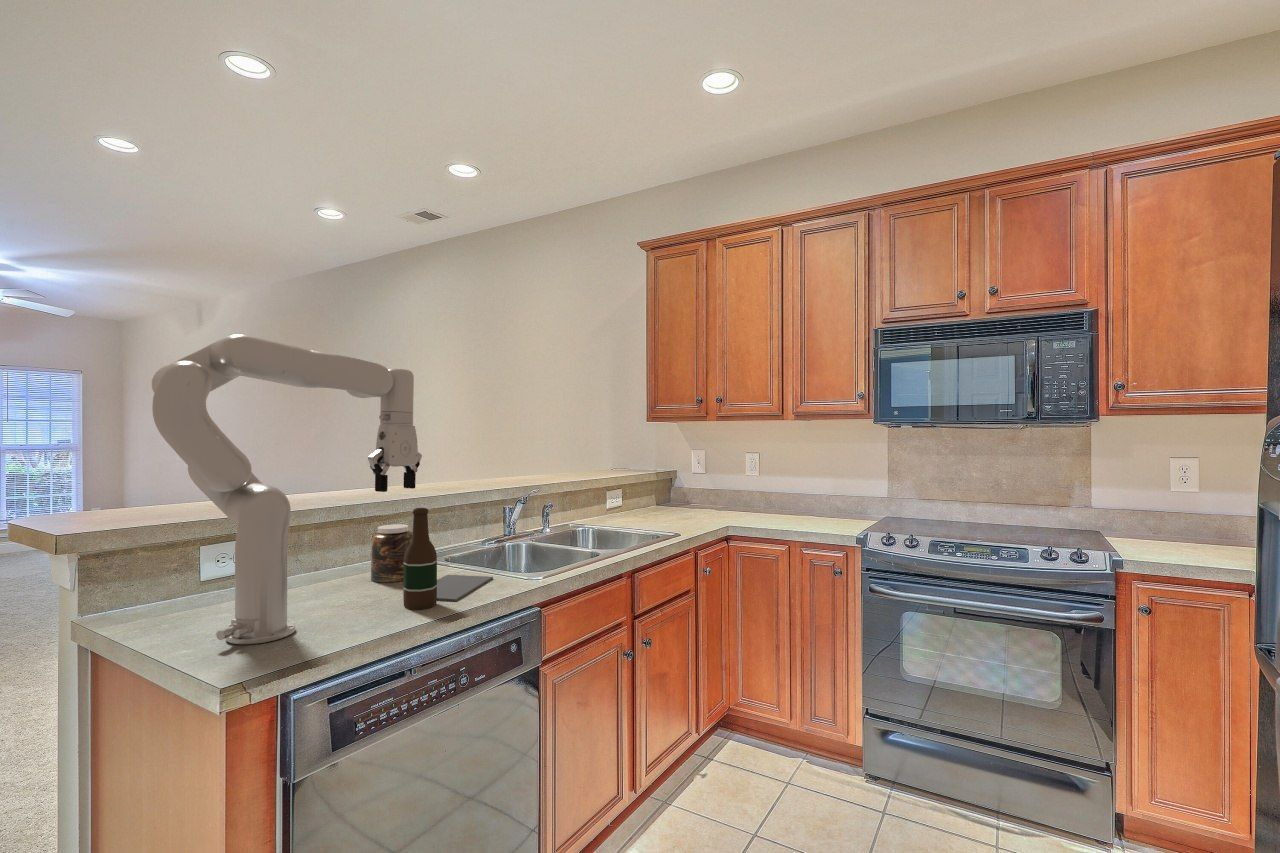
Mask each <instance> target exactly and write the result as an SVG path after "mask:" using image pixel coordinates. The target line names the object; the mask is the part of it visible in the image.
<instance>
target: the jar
mask: <svg viewBox="0 0 1280 853" xmlns="http://www.w3.org/2000/svg"><path fill="white" fill-rule="evenodd" d="M412 533H413V531H410V530H409V525H408V524H400V523H399V524H398V523H394V524H384V525H379V526H378V527H377V532H376V533H373V534H372V536H371V543H370V551H371V552H370V580H371V581H372V582H375V583H381V584H382V583H386V584H387V583H397V582H404V554H405V551H406V549H407V547H408V546H409V544H410V543H411V540H412Z"/></svg>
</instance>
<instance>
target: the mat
mask: <svg viewBox="0 0 1280 853" xmlns="http://www.w3.org/2000/svg"><path fill="white" fill-rule="evenodd" d="M493 579H494V577H493V576H489V575H488V576H484V575H482V576H481V575H465V574H464V575H459V574H446V575H444V576H442V577H440V578H437V601H438V602H439V601H440V602H442V601H443V602H457V601H460V600H461V599H462V598H464V597H465V596H467V595H469V594H471V593H472V592H473V591H476V590H477V589H479V588H480V587H482V586H483V585H485V584H487V583H489V582H490V581H491V580H493ZM437 601H436V602H437Z"/></svg>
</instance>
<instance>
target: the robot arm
mask: <svg viewBox="0 0 1280 853" xmlns="http://www.w3.org/2000/svg"><path fill="white" fill-rule="evenodd" d="M239 377H246V378H251V379H257V380H262V381H268V382H271V383H272V382H273V383H277V384H283V385H288V386H293V387H296V388H305V389H307V388H309V389H315V388H316V389H319V388H320V389H333V390H334V389H335V390H342V391H346V392H347V393H348V394H349V395H350V396H352V397H355V398H359V399H367V398H380V405H379V406H380V407H379V408H380V410H379V411H380V413H379V414H380V415H379V416H378V417H379V418H378V419H379V425H378V429H377V433H376V434H377V435H376V442H375V443H376V444H375V451H374V452H373V453H371V454H370V455H368V457H367V461H368V464H369V467H370V469H371V471H372V474H373V475H375V476H374V478H375V479H374V491H375V492H378V493H379V492H380V493H381V492H382V493H386V492H388V474H386V473H387V472H388V470H389V468H390V467H397V468H398V467H403V469H404V470H405V472H403V488H404V489H411V490H412V489H416V473H417V472H418V468H419V467H420V465H421V463H420V462H421V460H422V458H423V456H422V453H420V452H419V447H418V435H417V430H416V426H415V425H414V388H415V387H414V386H415V385H414V381H415V379H414V373H413V372H412V371H411V370H409V369H404V368H403V369H402V368H387V367H386V366H384V365H382V364H380V363H377V362H373V361H372V362H371V361H368V360H363V359H360V358H356V357H350V356H345V355H339V354H334V353H329V352H323V351H319V350H314V349H313V350H312V349H308V348H303V347H299V346H294V345H290V344H285V343H282V342H277V341H273V340H269V339H265V338H261V337H257V336H252V335H247V334H237V333H236V334H232V335H231V334H230V335H228V336H226V337H223V338H220V339H218V340H216V341H214V342H212V343H211V344H208V345H207V346H205V347H203V348H201V349H199V350H197V351H194V352H192V353H191V354H187V355H185V356H184V357H182V358H179V359H177V360H174V361H173V362H171V363H169V364H166V365H164V366H162V367H160V368H159V369H158V370H157V371H156V372H155V373H154V374H153V377H152V379H151V389H152V391H153V396H152V406H151V407H152V410H151V411H152V417H153V422H154V424H155V427H156V429H157V431H158V433H159V434H160V435H161V437H162V438H163V439H164V441H165V442H166V443H167V444H168V445H169V446H170V447H171V448H172V449H173V451H174V452H175V453H176V454H177V455H178V456H179V458H181V460H182V461H183V462H184V463H185V464H186V465H187V472H188V476H189V477H190V478H189V479H191V480H192V482H193V483H194V484H195V486H196V487H197V488H198V489H199V490H200V491H201V492H202V493H203V494H204V495H205V496H206V497H207V498H208V499H209V500H210V501H211V502H212V504H214V505H215V506H216V508H218V509H219V510H220V511H221V512H222V513H223V514H224V515H225V516H226V517H227V518H228V519H229V520H231V521H232V522H234V523H235V524H237V528H236V534H235V535H236V536H235V546H234V618H232V619H231V620H230V622H231V624H230V625H229V626H228V627H224V628H223V629H220V630H217V632H216V635H215V636H216V638H217V640H219V641H223V640H225V641H226V642H228V643H230V644H235V645H256V644H263V643H269V642H273V641H276V640H280V639H284V638H287V637H289V636H290V635H292V634H294V632H295V631H296V624H295V623H294V622H293V621H288V543H289V542H288V540H289V539H288V538H289V529H290V523H291V516H292V515H291V514H292V510H291V509H292V508H291V504H290V501H289V498H288V497H287V495H286V493H284V492H283V491H282V490H280V489H279V488H278V487H275V486H272V485H269V484H264V483H262V481H260V479H259V478H258V477H257V476H256V475H255V474H254V473H253V472H252V465H251V464H252V463H251V462H250V460H249V458H248V457H247V456H246V454H244V452H243V451H241V450H240V449H239V448H238V447H237V446H236V445H235V443H233V442H232V440H231V439H230V438H229V437H228V436H227V435H226V434H225V433H224V432H223V431H222V430H221V429H220V428H219V426H218V424H216V422H215V421H214V420H213V419H212V417H211V416H210V414H209V412H208V409H207V399H208V396H209V395H210V392H213V391H214V390H216V389H218V388H220V387H222V386H224V385H226V384H228V383H229V382H231V381H233V380H235V379H237V378H239Z"/></svg>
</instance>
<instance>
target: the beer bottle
mask: <svg viewBox="0 0 1280 853" xmlns="http://www.w3.org/2000/svg"><path fill="white" fill-rule="evenodd" d="M429 512H430V511H429V509H428V508H426V507H415V508H413V510H412V514H413V520H412V532H413V533H412V540H411V543H410V544H409V546H408V547H407V549H406V551H405V554H404V581H403V587H402V588H403V594H402V596H403V598H402V600H403V607H404V608H406V609H407V610H413V611H414V610H415V611H417V610H418V611H419V610H421V611H422V610H427V609H431V608H434V606H436V604H437V580H438V557H437V551H436V548H435V546H434V544H433V543H432V542H431V540H430V534H429V520H428V516H429V515H428V514H429Z"/></svg>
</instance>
